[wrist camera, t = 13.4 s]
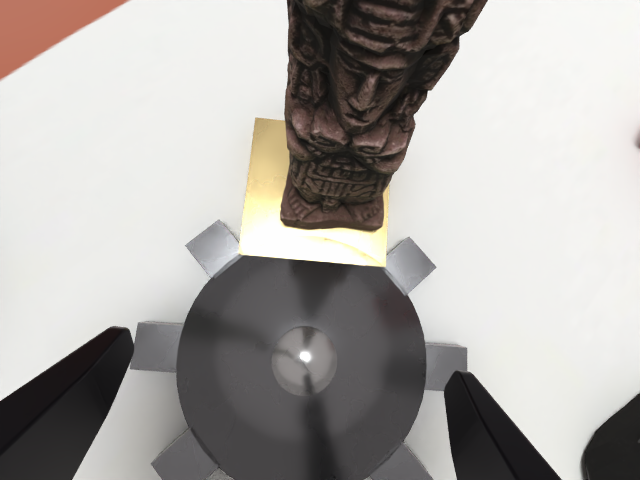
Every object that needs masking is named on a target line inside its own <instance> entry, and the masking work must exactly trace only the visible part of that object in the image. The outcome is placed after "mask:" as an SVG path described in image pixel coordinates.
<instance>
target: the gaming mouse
mask: <svg viewBox="0 0 640 480" xmlns="http://www.w3.org/2000/svg"><path fill="white" fill-rule="evenodd" d="M585 465H586V471H587V476H588V480H640V394H639V395H638V396H636V397H635V398H634V399H633V400H632V401H631V402H630V403H629V404H627V405H626V406H625V407H624V408H623V409H621V410H620V411H619V412H618V413H616V414H615V415H614V416H612V417H611V418H610V419H609V420H608V421H607V422H606V423H605V424H604V425H603V426H602V427H601V428H600V429H599V430H598V431H597V432H596V434H595V435H594V437H593V439H592V441H591V443H590V445H589V447H588V449H587V451H586V459H585Z"/></svg>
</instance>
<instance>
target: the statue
mask: <svg viewBox="0 0 640 480" xmlns="http://www.w3.org/2000/svg"><path fill="white" fill-rule="evenodd" d="M487 1H488V0H287V7H288V20H289V29H288V56H289V63H288V70H287V71H288V82H287V89H286V95H285V113H284V114H285V126H286V139H287V149H288V150H289V161H290V164H289V169H288V175H287V179H286V186H285V189H284V193H283V197H282V202H281V204H280V207H281V211H280V220H281V221H282V222H283V223H284V225H286V226H292V227H297V228H303V229H326V228H335V227H347V228H354V229H358V230H370V231H372V230H378V229H380V228H382V226H383V221H384V200H383V193H384V191H385V190H386V188H387V186H388V185H389V183H390V181H391V178H392V175H393V174H394V173H395V171H397V170H398V168H399V166H400V165H401V163H402V161H403V160H404V158H405V155H406V151H407V148H408V145H409V142H410V140H411V137H412V134H413V131H414V129H415V121H414V117H413V116H414V114H415V113H416V112H417V111H418V110H419V108H420V107H421V105H422V104H423V102H424V101H425V100H426V98H427V92H428V90H432V89H433V87H434V86H435V85H436V83H437V82H438V81H439V79H440V78H441V77H442V75H443V74H444V73H445V71H446V70H447V69H448V67H449V66H450V64H451V62H452V60H453V59H454V57H455V55H456V54H457V52H458V50H459V37H460V36H461V35H462V34H464V33H466V32H468V31H469V30H470V29H471V27H472V26H473V25H474V23H475V21H476V19H477V18H478V16H479V14H480V13H481V11H482V9H483V8H484V6H485V4H486V2H487Z"/></svg>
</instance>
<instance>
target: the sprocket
mask: <svg viewBox="0 0 640 480" xmlns="http://www.w3.org/2000/svg"><path fill="white" fill-rule="evenodd" d="M289 164H290V161H289V150H288V149H287V139H286V126H285V121H282V120H273V119H264V118H255V125H254V133H253V141H252V149H251V157H250V165H249V173H248V181H247V189H246V197H245V204H244V212H243V220H242V228H241V236H240V243H239V242H238V241H237V239H236V238H235V237H234V236H233V235H232V233H231V232H230V231H229V230H228V229H227V227H226V226H225V225H224V224H223V223H222V222H221V221H220V220H218V221H216V222H215V223H214V224H212V225H211V226H210V227H208V228H207V229H206V230H205V231H203V232H202V233H201V234H199V235H198V236H197V237H195V238H194V239H193V240H191V241H190V242H189V243H188V244H186V245H185V246H186V247H187V249H188V250H189V251H190V252H191V254H192V255H193V256H194V257H195V259H196V260H197V261H198V262H199V264H200V265H201V266H202V267H203V268H204V270H205V271H206V272H207V273H208V275H209V276H210V277H211V279H210V280H209V281H208V282H207V284H206V285H205V286H204V287H203V289H202V290H201V292H200V293H199V295H198V296H197V298H196V299H195V301H194V303H193V305H192V307H191V309H190V311H189V313H188V315H187V317H186V320H185V323H184V324H175V323H162V322H149V321H146V322H139V323H138V326H137V331H136V337H135V343H134V354H133V357H132V360H131V365H130V369H134V370H149V371H163V372H176V374H177V387H178V393H179V399H180V403H181V407H182V410H183V413H184V416H185V419H186V421H187V423H188V426H189V428H188V429H187V430H186V431H185V432H184V433H183V434H182V435H180V436H179V437H178V438H177V439H176V440H175V441H174V442H172V443H171V444H170V445H169V446H168V447H167V448H166V449H164V450H163V451H162V452H161V453H160V454H159V455H158V456H157V457H156V458H155V459H154V461H153V462H152V463H151V465H152V466H153V467H154V469H155V470H156V472H157V473H158V474H159V476H160V477H161V478H162V480H205V479H206V478H207V477H208V476H209V475H210V474H212V473H213V472H214V471H215V470H216V469H217V468H218V467H219V468H220V469H221V470H223V471H224V472H225V473H226V474H227V475H229V476H230V477H232V478H233V479H235V480H364V479H365V478H367V477H368V476H370V477H371V478H372V479H373V480H433V478H432V477H431V476H430V474H429V473H428V472H427V470H426V469H425V468H424V467H423V465H422V464H421V463H420V462H419V461H418V459H417V458H416V457H415V456H414V454H413V453H412V452H411V451H410V450H409V448H408V447H407V446H406V445H405V444H404V442H403V441H404V439H405V438H406V436H407V435H408V433H409V431H410V429H411V427H412V425H413V423H414V421H415V419H416V417H417V414H418V411H419V408H420V405H421V402H422V398H423V393H424V390H436V391H444V388H445V385H446V384H447V382H448V380H449V379H450V377H451V376H452V374H453V372H454V371H456V370H461V371H467V348H466V347H463V346H460V345H450V344H437V343H425V340H424V334H423V331H422V327H421V324H420V321H419V317H418V315H417V313H416V311H415V308H414V306H413V304H412V302H411V300H410V298H409V297H408V295H407V294H408V293H409V292H410V291H411V290H412V289H414V288H415V287H416V286H417V285H418V284H419V283H420V282H421V281H422V280H423V279H424V278H426V277H427V276H428V275H429V274H430V273H431V272H432V271H433V270H434V269H435V268H436V266H435V265H434V264H433V263H432V262H431V261H430V259H429V258H428V257H427V256H426V255H425V254H424V253H423V252H422V250H421V249H420V248H419V247H418V246H417V245H416V244H415V243H414V241H413V240H412V239H411V238H410V237H408V238H406V239H404V240H403V241H402V242H401V243H400V244H398V245H397V246H396V247H395V248H394V249H393V250H392V251H390V252H389V253H388V254H387V255H386V247H387V224H388V201H389V185H388V186H387V188H386V190H385V191H384V193H383V200H384V221H383V226H382V228H380V229H378V230H372V231H370V230H358V229H354V228H347V227H335V228H326V229H303V228H297V227H292V226H286V225H284V223H283V222H282V221H281V220H280V211H281V207H280V204H281V202H282V197H283V193H284V189H285V186H286V179H287V175H288V169H289Z"/></svg>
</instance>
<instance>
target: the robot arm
mask: <svg viewBox="0 0 640 480" xmlns="http://www.w3.org/2000/svg"><path fill="white" fill-rule="evenodd" d="M133 354H134V343H133V340H132V337H131V333H130V330H129V329H128V328H125V327H118V326H112V327H110V328H108V329H106V330H105V331H103V332H102V333H100V334H99V335H97V336H96V337H94V338H93V339H91V340H90V341H89V342H87V343H86V344H84V345H83V346H81V347H80V348H78V349H77V350H75V351H74V352H72V353H71V354H69V355H68V356H66V357H65V358H63V359H62V360H60V361H59V362H57V363H56V364H54V365H53V366H51V367H50V368H49V369H47V370H46V371H44V372H43V373H41V374H40V375H38V376H37V377H35V378H34V379H32V380H31V381H29V382H28V383H26V384H25V385H23V386H22V387H20V388H19V389H17V390H16V391H14V392H13V393H12V394H10V395H9V396H7V397H6V398H4V399H3V400H1V401H0V480H72V479H73V477H74V475H75V473H76V472H77V470H78V468H79V466H80V464H81V462H82V461H83V459H84V457H85V455H86V453H87V451H88V450H89V448H90V446H91V444H92V442H93V440H94V439H95V437H96V435H97V433H98V431H99V429H100V428H101V426H102V424H103V422H104V420H105V418H106V416H107V414H108V413H109V410H110V408H111V406H112V404H113V402H114V399H115V397H116V395H117V392H118V390H119V387H120V385H121V383H122V380H123V378H124V376H125V373H126V371H127V368H128V366H129V364H130V361H131V359H132V357H133ZM444 398H445V406H446V414H447V423H448V431H449V439H450V447H451V453H452V458H453V463H454V468H455V472H456V477H457V480H562V479H561V478H560V477H559V476H558V475H557V474H556V472H555V471H554V470H553V469H552V468H551V466H550V465H549V464H548V463H547V462H546V460H545V459H544V458H543V457H542V456H541V454H540V453H539V452H538V451H537V450H536V449H535V447H534V446H533V445H532V444H531V443H530V441H529V440H528V439H527V438H526V437H525V435H524V434H523V433H522V432H521V431H520V429H519V428H518V427H517V426H516V425H515V424H514V422H513V421H512V420H511V419H510V418H509V416H508V415H507V414H506V413H505V412H504V410H503V409H502V408H501V407H500V406H499V404H498V403H497V402H496V401H495V400H494V399H493V397H492V396H491V395H490V394H489V393H488V391H487V390H486V389H485V388H484V387H483V385H482V384H481V383H480V382H479V381H478V379H477V378H476V377H475V376H474V375H473V374H472V373H471V372H468V371H461V370H456V371H454V372H453V374H452V376H451V377H450V379H449V380H448V382H447V384H446V385H445V388H444Z"/></svg>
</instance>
